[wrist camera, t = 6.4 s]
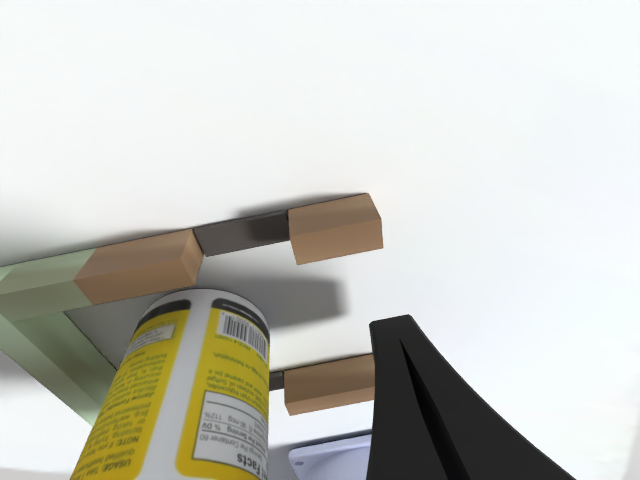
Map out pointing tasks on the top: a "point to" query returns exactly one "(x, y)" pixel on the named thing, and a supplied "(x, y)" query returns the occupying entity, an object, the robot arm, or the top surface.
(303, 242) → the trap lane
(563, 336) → the top surface
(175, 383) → the supplement bottle
